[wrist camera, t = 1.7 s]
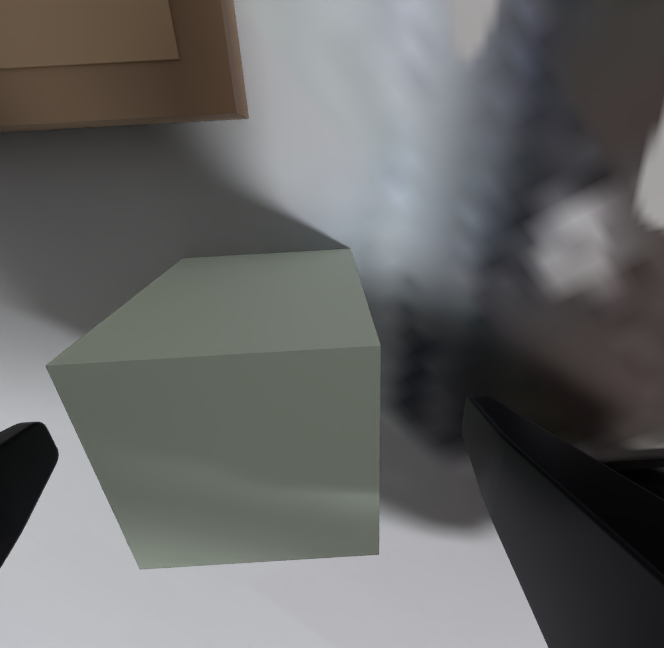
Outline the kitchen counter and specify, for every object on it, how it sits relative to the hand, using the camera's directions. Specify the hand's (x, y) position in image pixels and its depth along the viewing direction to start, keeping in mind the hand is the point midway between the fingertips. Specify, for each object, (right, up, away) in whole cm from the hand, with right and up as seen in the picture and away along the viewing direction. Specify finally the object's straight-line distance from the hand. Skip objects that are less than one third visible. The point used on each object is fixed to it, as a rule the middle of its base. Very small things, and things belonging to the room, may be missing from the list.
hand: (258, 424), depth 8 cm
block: (0, +2, +4) cm, 5 cm away
